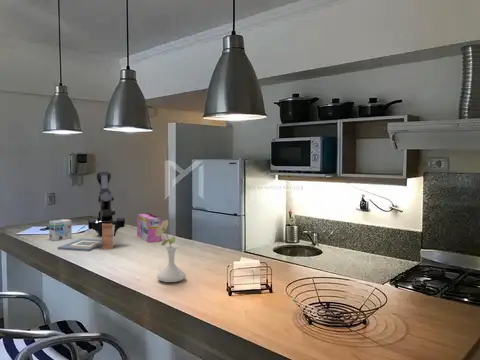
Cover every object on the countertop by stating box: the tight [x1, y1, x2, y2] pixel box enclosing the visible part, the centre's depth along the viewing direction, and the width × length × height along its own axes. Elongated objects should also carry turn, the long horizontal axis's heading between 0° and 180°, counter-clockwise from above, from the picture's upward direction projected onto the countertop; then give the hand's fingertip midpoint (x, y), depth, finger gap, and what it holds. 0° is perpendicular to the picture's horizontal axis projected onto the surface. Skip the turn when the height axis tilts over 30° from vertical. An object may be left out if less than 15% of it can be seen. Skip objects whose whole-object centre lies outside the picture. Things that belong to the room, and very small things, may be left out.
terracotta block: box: [101, 223, 114, 250], centre depth 213 cm, size 5×5×13 cm
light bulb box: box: [48, 218, 73, 241], centre depth 234 cm, size 11×7×11 cm, turn 143°
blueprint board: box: [57, 238, 102, 252], centre depth 218 cm, size 22×18×2 cm
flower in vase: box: [155, 219, 187, 283], centre depth 159 cm, size 13×11×25 cm
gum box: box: [136, 212, 162, 243], centre depth 240 cm, size 24×8×14 cm, turn 31°
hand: (107, 236), depth 212 cm, fingers open, 7 cm apart
